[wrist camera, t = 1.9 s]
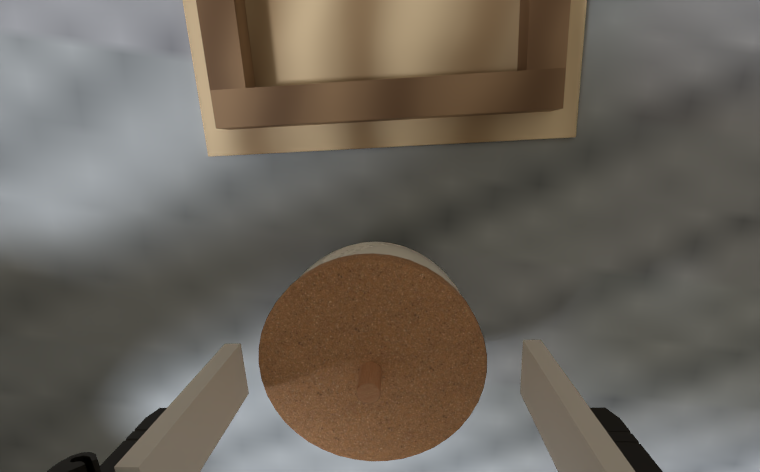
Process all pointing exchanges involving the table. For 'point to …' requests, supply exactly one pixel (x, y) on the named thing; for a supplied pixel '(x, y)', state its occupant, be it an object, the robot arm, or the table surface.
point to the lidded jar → (373, 354)
